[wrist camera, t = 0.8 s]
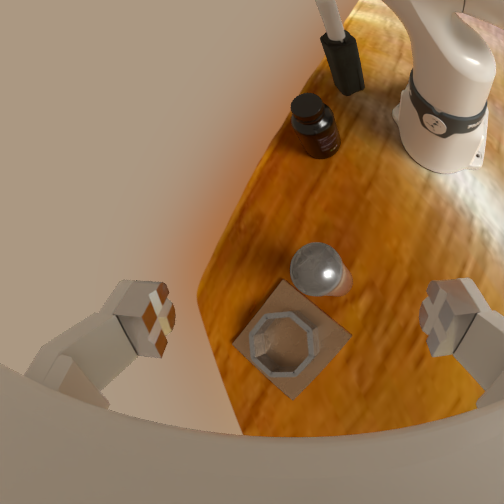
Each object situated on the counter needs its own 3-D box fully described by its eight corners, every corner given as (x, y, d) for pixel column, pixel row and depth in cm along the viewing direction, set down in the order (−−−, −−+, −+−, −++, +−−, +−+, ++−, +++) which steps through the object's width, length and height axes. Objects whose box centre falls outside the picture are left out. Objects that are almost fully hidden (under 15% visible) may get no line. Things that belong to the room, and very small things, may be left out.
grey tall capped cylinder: (335, 258, 43) (311, 232, 27) (360, 278, 41) (352, 263, 25) (316, 284, 43) (279, 274, 27) (340, 304, 41) (319, 307, 25)
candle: (345, 97, 46) (311, -8, 24) (332, 82, 48) (294, -18, 25) (366, 88, 45) (342, -18, 22) (353, 73, 46) (324, -27, 24)
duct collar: (285, 279, 46) (274, 277, 41) (352, 335, 40) (349, 339, 35) (235, 343, 47) (220, 347, 43) (294, 398, 41) (285, 408, 37)
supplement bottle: (296, 146, 49) (274, 108, 38) (321, 122, 47) (304, 80, 37) (323, 167, 46) (306, 130, 35) (349, 141, 45) (338, 100, 34)
